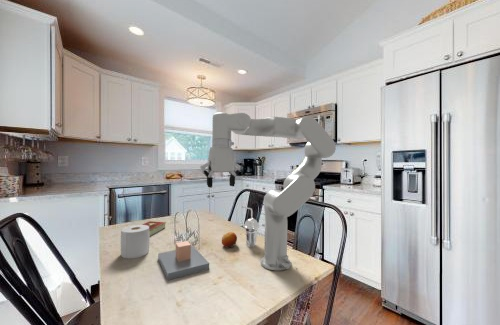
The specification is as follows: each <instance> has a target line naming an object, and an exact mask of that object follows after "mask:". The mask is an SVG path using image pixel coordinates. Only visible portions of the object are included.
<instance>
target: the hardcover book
mask: <svg viewBox="0 0 500 325" xmlns="http://www.w3.org/2000/svg"><path fill="white" fill-rule="evenodd" d="M166 223H167V221H155V220H154V221H153V220H149V221H147V222H144V223H142V224H141V225H147V226H149V237H151V236H152V235H155V234H156V233H158V232H160V231H161V230H164V229H165V228H166ZM163 228H164V229H163Z"/></svg>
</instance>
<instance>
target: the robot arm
mask: <svg viewBox="0 0 500 325" xmlns="http://www.w3.org/2000/svg"><path fill="white" fill-rule="evenodd" d="M232 132H233V133H234V134H236V135H239V136H241V135H242V136H251V137H252V136H254V137H268V138H269V137H271V138H283V139H294V140H302V139H303V140H304V139H305V140H306V141H307V142H306V144H305V145H304V150H303V151H304V159H303V161H302V163H300V165H299V166H298V167H297V168H296V169H295V170H294V171H292V172H291V173H290V174H289V175H288V176H287V177H286V178H284V181H283V190H280V189H276V188H275V189H271V190H269V191H267V193H266V194H265V195H264V198H263V211H264V256H263V257H261V259H260V265H261V266H262V267H263V268H265V269H266V270H270V271H277V272H278V271H284V270H289V269H290V267H291V266H292V265H293V262H292V261H291V260H290V258H289V255H288V217H290V216H292V215H294V214H295V213H296V212H297V211H298V210H300V208H301V207H302V206H303V205H304V204H305V203H307V201H309V200H310V199H311V197H312V196H313V195H314V192H315V189H316V182H315V179H316V178H317V177H318V176H319V174H320V173H321V171H322V167H323V166H322V165H323V164H322V162H323V160H322V159H328V158H330V157H332V156H333V155H334V154H335V152H336V147H337V146H336V143H335V141H334V139H333V138H332V137H331V136H330V135H329V133H328V132H327V130H326V129H325V128H324V127H323V126H322V125H321V124H320V123H319V122H318V120H316V119H315V118H314V117H312V116H309V115H308V116H307V115H306V116H303V117H301V118H290V117H283V116H269V117H265V118H251V116H250V115H249V114H248V113H245V112H235V113H232V112H230V113H228V112H215V113H214V114H213V115H212V139H211V141H212V142H211V143H212V145H211V146H212V147H211V146H210V148H209V151H208V159H207V162H205V163H204V164H201V165H200V166H199V167H200V170H201V172H202V173H203V174H204V175H205V177H206V185H207V187H208V188H210V189H211V188H213V175H214V174H215V173H228V174H229V175H230V176H229V186H230V187H235V184H236V177H237V175H238V173H239V172H240V170H241V168H242V166H241V165H240V164H238V163H236V162H235V155H234V149H233V148H232V146H234V145H235V143H234V141H232ZM206 168H207V169H206Z"/></svg>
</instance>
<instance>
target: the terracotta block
mask: <svg viewBox="0 0 500 325" xmlns="http://www.w3.org/2000/svg"><path fill="white" fill-rule="evenodd" d="M191 247H192V245H191V243H190V242H189V241H188V240H185V241H180V242H179V241H178V242H176V243H175V250H176V259H177V260H178V262H180V261H184V260H188V259H191Z"/></svg>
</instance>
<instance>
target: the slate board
mask: <svg viewBox="0 0 500 325" xmlns="http://www.w3.org/2000/svg"><path fill="white" fill-rule="evenodd" d="M157 259H158V261H159V264H160V266H161V268H162V271H163V272H164V276H165V277H166V279H167V281H169V280H170V281H171V280H173V279H177V278H181V277H185V276H189V275H191V274H192V275H193V274H197V273H201V272H204V271H207V270H210V262H209V261H208V260H207V259H206V258H205V257H204V256H203V255H202V254H201V252H199V250H198V249H197V248H196V246H191V259H188V260H184V261H180V262H178V260H177V259H176V249H174V250H170V251H165V252H159V253H157Z"/></svg>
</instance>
